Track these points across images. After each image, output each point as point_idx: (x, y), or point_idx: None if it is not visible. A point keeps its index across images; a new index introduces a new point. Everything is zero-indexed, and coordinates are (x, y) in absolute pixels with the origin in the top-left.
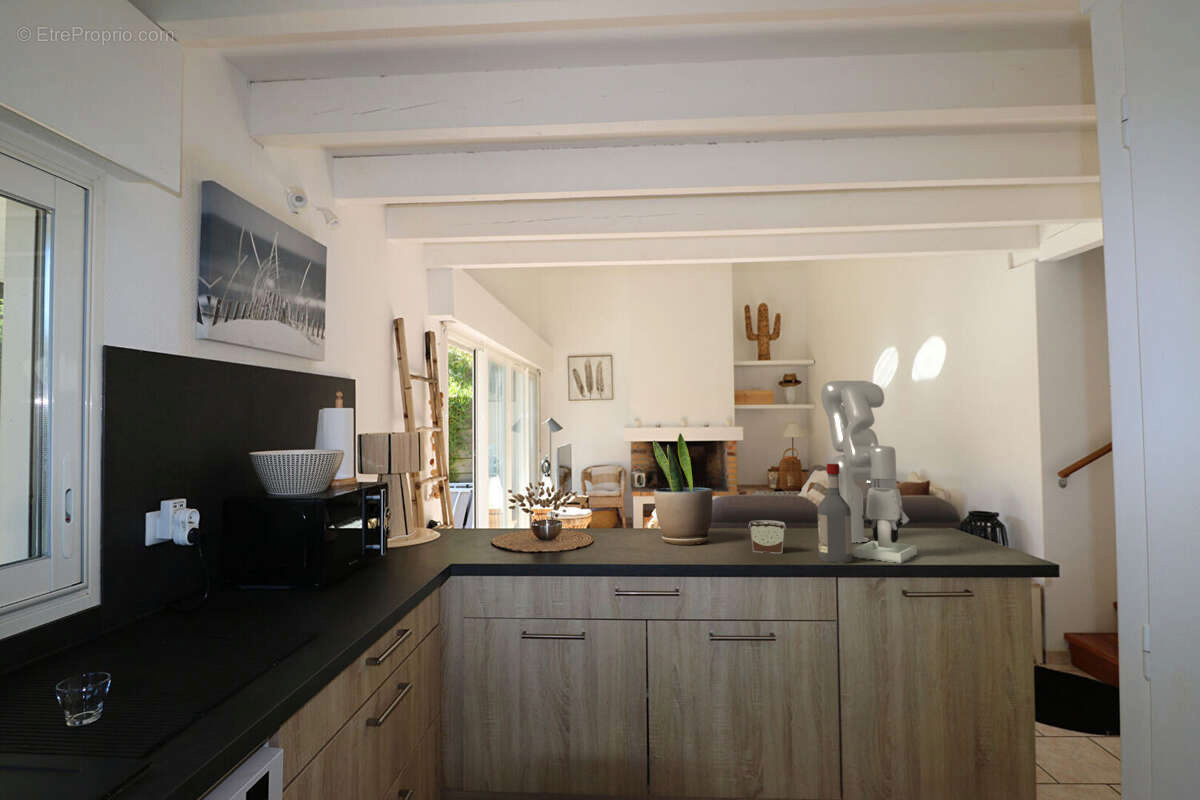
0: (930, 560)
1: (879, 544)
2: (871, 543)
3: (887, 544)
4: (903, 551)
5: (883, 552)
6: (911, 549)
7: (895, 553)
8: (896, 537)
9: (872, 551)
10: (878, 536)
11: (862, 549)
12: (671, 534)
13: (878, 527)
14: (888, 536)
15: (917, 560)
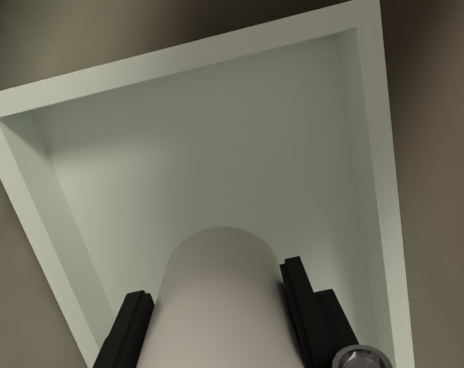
0: (3, 330)
1: (247, 239)
2: (391, 355)
3: (178, 255)
4: (22, 209)
5: (105, 64)
6: (92, 361)
7: (6, 89)
8: (103, 345)
9: (201, 41)
10: (265, 285)
11: (292, 17)
12: None
13: (272, 362)
14: (158, 308)
15: (39, 276)
